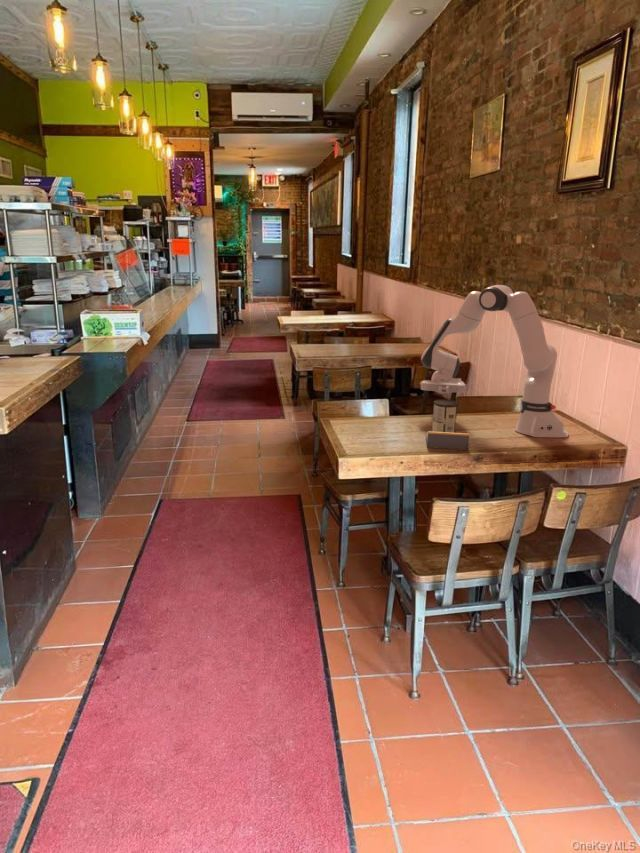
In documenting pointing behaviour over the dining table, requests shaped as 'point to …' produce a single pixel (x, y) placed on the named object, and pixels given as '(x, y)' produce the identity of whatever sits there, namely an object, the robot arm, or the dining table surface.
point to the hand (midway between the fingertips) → (444, 390)
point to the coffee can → (444, 416)
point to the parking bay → (447, 440)
